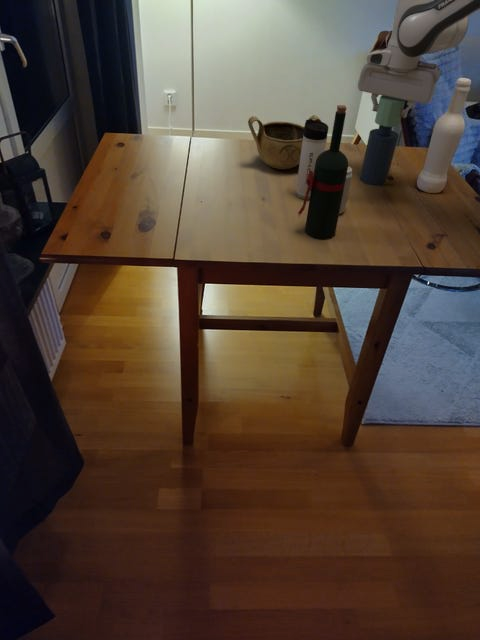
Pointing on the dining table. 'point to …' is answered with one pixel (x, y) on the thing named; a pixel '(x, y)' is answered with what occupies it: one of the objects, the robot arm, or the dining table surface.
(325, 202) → the wine bottle
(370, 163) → the water bottle
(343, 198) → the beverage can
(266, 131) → the ceramic bowl
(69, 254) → the dining table surface
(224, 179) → the dining table surface
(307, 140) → the travel mug
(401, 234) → the dining table surface
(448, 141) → the bottle
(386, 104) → the paper cup
